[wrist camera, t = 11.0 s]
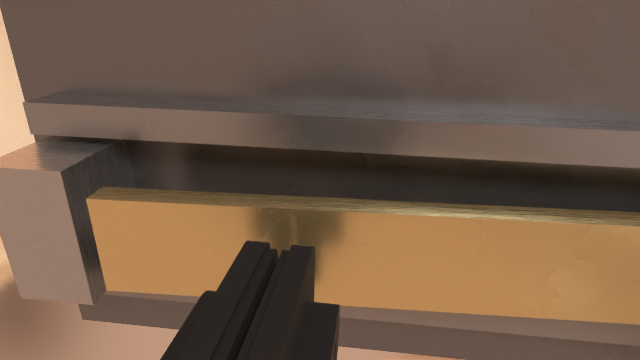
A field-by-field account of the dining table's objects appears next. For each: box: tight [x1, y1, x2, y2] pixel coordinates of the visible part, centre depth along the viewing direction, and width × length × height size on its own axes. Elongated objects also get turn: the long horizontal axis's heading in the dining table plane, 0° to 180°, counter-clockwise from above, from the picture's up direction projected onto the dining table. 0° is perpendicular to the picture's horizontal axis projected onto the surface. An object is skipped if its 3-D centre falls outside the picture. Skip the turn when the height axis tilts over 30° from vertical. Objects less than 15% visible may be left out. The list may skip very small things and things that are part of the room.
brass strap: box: [86, 187, 640, 325], centre depth 11 cm, size 21×3×1 cm, turn 89°
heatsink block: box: [0, 0, 640, 360], centre depth 12 cm, size 26×24×7 cm
